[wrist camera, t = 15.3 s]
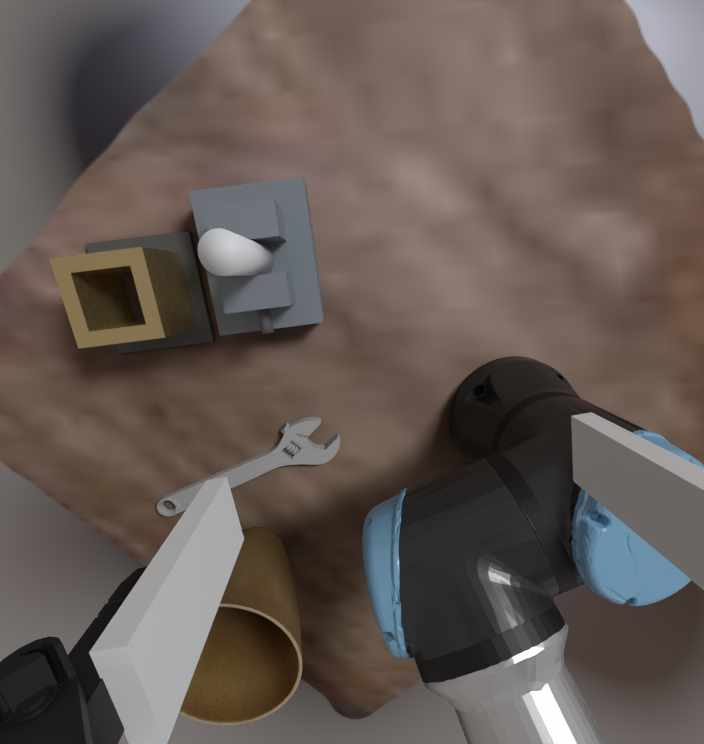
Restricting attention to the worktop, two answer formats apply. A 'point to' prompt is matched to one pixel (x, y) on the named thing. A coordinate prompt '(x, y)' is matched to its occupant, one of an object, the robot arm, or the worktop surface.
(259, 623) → the plant pot
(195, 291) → the rubber mat
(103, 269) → the brass collar
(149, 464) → the worktop surface
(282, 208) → the vise
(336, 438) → the adjustable wrench
